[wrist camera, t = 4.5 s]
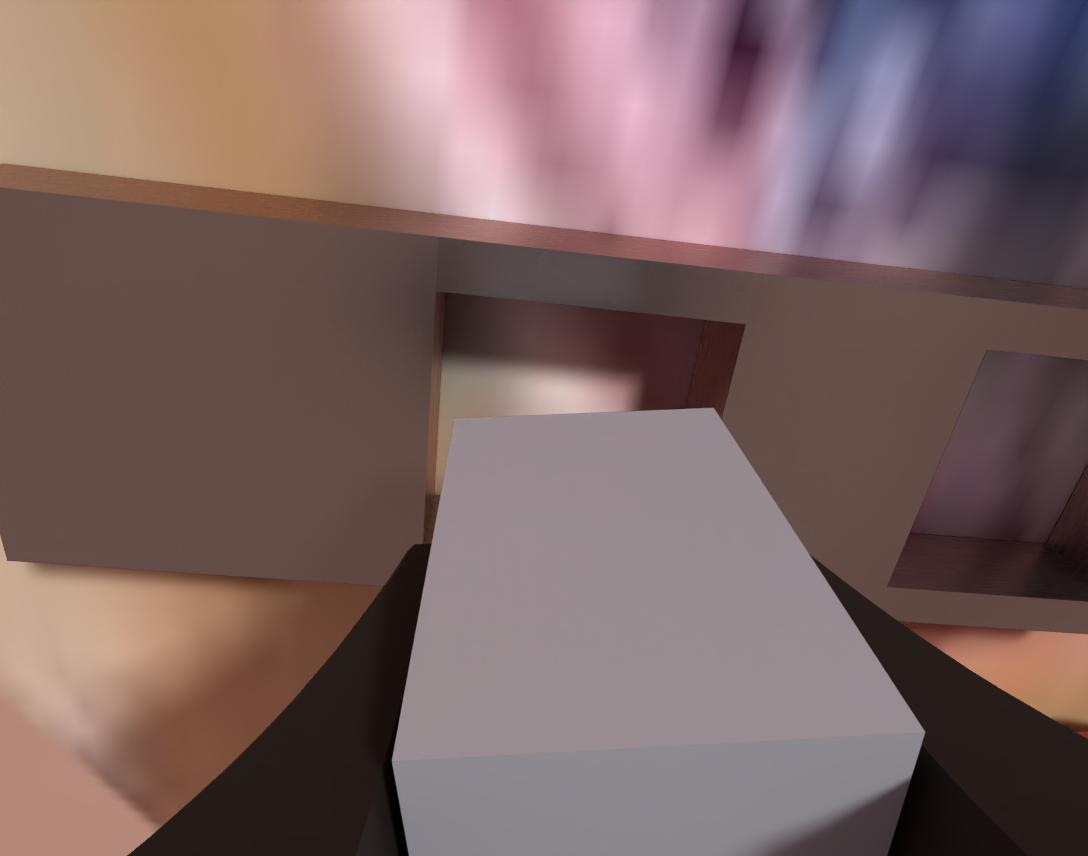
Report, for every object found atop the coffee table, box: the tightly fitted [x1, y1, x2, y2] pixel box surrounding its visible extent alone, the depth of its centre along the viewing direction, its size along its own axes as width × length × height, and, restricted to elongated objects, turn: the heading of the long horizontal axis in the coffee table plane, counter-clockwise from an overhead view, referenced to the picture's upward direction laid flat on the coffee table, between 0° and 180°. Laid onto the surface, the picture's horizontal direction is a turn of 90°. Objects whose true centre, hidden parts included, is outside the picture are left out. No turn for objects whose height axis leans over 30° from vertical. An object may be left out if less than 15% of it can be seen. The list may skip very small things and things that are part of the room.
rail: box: [0, 164, 1088, 634], centre depth 16 cm, size 28×8×2 cm, turn 83°
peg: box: [392, 408, 925, 856], centre depth 9 cm, size 4×4×6 cm
